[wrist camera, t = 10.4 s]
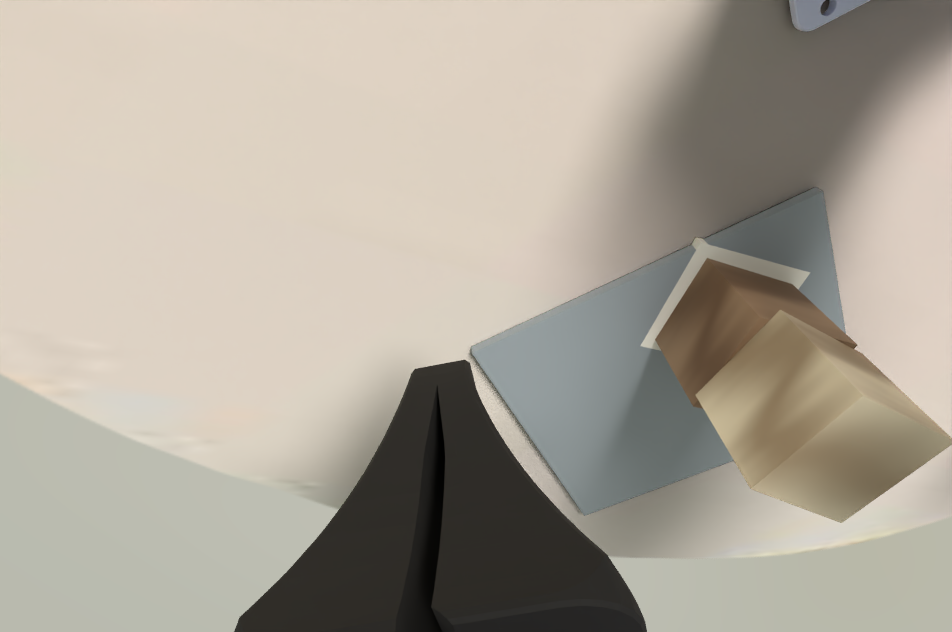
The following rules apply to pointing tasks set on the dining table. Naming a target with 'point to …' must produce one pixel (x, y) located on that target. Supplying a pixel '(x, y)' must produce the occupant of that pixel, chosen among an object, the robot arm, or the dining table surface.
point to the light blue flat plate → (643, 360)
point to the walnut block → (729, 321)
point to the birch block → (816, 420)
